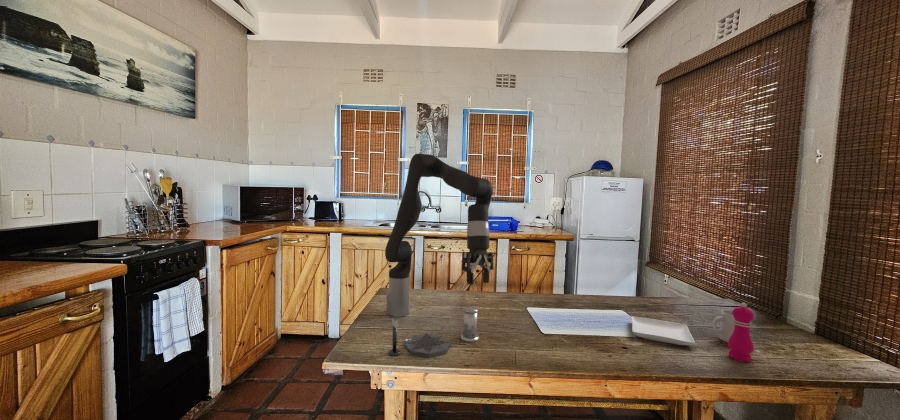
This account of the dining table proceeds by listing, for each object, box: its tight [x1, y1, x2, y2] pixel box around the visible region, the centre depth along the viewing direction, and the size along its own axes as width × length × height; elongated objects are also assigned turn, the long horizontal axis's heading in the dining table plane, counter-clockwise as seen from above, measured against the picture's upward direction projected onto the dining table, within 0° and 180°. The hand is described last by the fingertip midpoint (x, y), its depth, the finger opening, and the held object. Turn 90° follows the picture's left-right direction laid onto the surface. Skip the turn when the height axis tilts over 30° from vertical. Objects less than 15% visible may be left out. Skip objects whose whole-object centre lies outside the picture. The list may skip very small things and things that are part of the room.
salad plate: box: [630, 315, 696, 346], centre depth 150 cm, size 21×21×3 cm
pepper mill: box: [727, 302, 755, 363], centre depth 130 cm, size 7×7×20 cm
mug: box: [712, 309, 735, 343], centre depth 145 cm, size 12×8×11 cm
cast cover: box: [460, 305, 479, 344], centre depth 141 cm, size 7×7×12 cm
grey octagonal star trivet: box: [403, 332, 452, 359], centre depth 133 cm, size 16×16×2 cm
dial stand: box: [388, 317, 411, 357], centre depth 128 cm, size 8×4×12 cm, turn 119°
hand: (478, 283), depth 122 cm, fingers open, 8 cm apart
